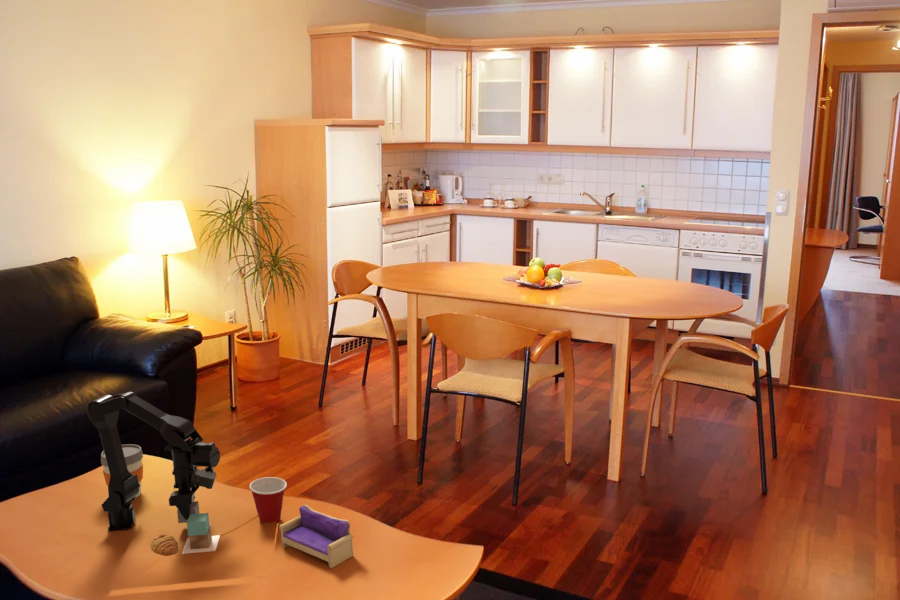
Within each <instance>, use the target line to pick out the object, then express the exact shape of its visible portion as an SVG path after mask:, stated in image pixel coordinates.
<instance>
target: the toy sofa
mask: <svg viewBox="0 0 900 600" xmlns="http://www.w3.org/2000/svg"><path fill="white" fill-rule="evenodd" d="M298 509H299V516H297V517H295V518H293V519H291V520H288V521H285V522H284V523H281V524H279V531H280V535H281V548H283V549H286V548H287V547H292V548H295V549H297V550H299V551H302V552H304V553H307V554H309V555H311V556H313V557H315V558H319V559H321V560H322V561H326V562H327V563H328V567H329V568H330V569H333V568H334V567H336V566H338V565H340V564H341V563H344V562H345V561H346V560H348V559H350V558H352V557H353V556H354V550H353V548H354V547H353V539H354V535H353V533H352V532H350V531H351V521H350V520H348V519H341V518H338V517H337V518H336V517H334V516H331V515H328V514H326V513H322V512H320V511H317V510H314V509H313V508H311V507H310V506H309V505H308V504H303V505H301V506H300V507H299V508H298Z"/></svg>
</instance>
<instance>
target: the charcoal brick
mask: <svg viewBox="0 0 900 600" xmlns="http://www.w3.org/2000/svg"><path fill="white" fill-rule="evenodd" d="M176 512H177V513H176V514H177V515H176V516H177V521H178V522H177V523H178V524H183V523H185V524H187V521H188V519H186V520H185V519H184V517H183V516H182V514H181V513H180V511H179V510H178V508H177V509H176ZM190 514H201V513H200V504H199V501H196V500H195V501H194V502H193V503H192V504H190ZM189 516H190V515H189Z"/></svg>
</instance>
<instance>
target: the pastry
mask: <svg viewBox="0 0 900 600" xmlns="http://www.w3.org/2000/svg"><path fill="white" fill-rule="evenodd" d="M150 548H151V551H152V552H154V553H156V554H159V555H162V556H171V555H175V554H177V552H179V542H178V541H177V540H176V538H175V537H174V536H172V535H168V534H165V533H163V534H159V535H158V536H156V537H154V539H153V540H152V541H151V543H150Z"/></svg>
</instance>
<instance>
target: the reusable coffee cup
mask: <svg viewBox="0 0 900 600" xmlns="http://www.w3.org/2000/svg"><path fill="white" fill-rule="evenodd" d="M121 445H122V449H123V453H124V457H125V461H126V465H127V469H128V471H129V472H130V473H131V474H132V475H135V474H136V475H137V476H138V482H139V484H140V487H139V492H138V494H137V495H136V497H135V499H136V498H138V497H140V495H141V494H142V480H143V478H144V464H143V457H144V454H143V450H142V447H141V446H140V445H139V444H131V443H130V444H129V443H128V444H121ZM100 465H102V468H103V470H102V473H103V477H104V481H105V485H106V486H107V487H108V484H109V480H110V472H109V468H108V465H107V461H106V457H105V453H104V450H102V452H101V454H100Z"/></svg>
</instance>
